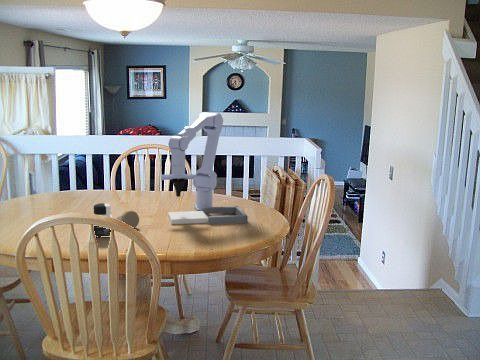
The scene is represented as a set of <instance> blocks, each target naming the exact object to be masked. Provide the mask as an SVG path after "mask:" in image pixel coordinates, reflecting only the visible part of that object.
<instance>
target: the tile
mask: <svg viewBox="0 0 480 360" xmlns="http://www.w3.org/2000/svg"><path fill="white" fill-rule="evenodd" d="M208 216H227V214H223V213H211V214H209V215H208Z"/></svg>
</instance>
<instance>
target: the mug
mask: <svg viewBox="0 0 480 360" xmlns="http://www.w3.org/2000/svg"><path fill="white" fill-rule="evenodd" d="M139 217H140V216H139V214H138V213H137V212H136V211H133V210H129V211H127V210H126V211H124V212H123V213H122V214H121V215H118V216H117V217H116V219H118V220H120V221H123V222H125V223H126V224H128V225H130V226H132V227H134V228H133V229H135V228H136V227H138V225H139V223H140V218H139Z"/></svg>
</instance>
